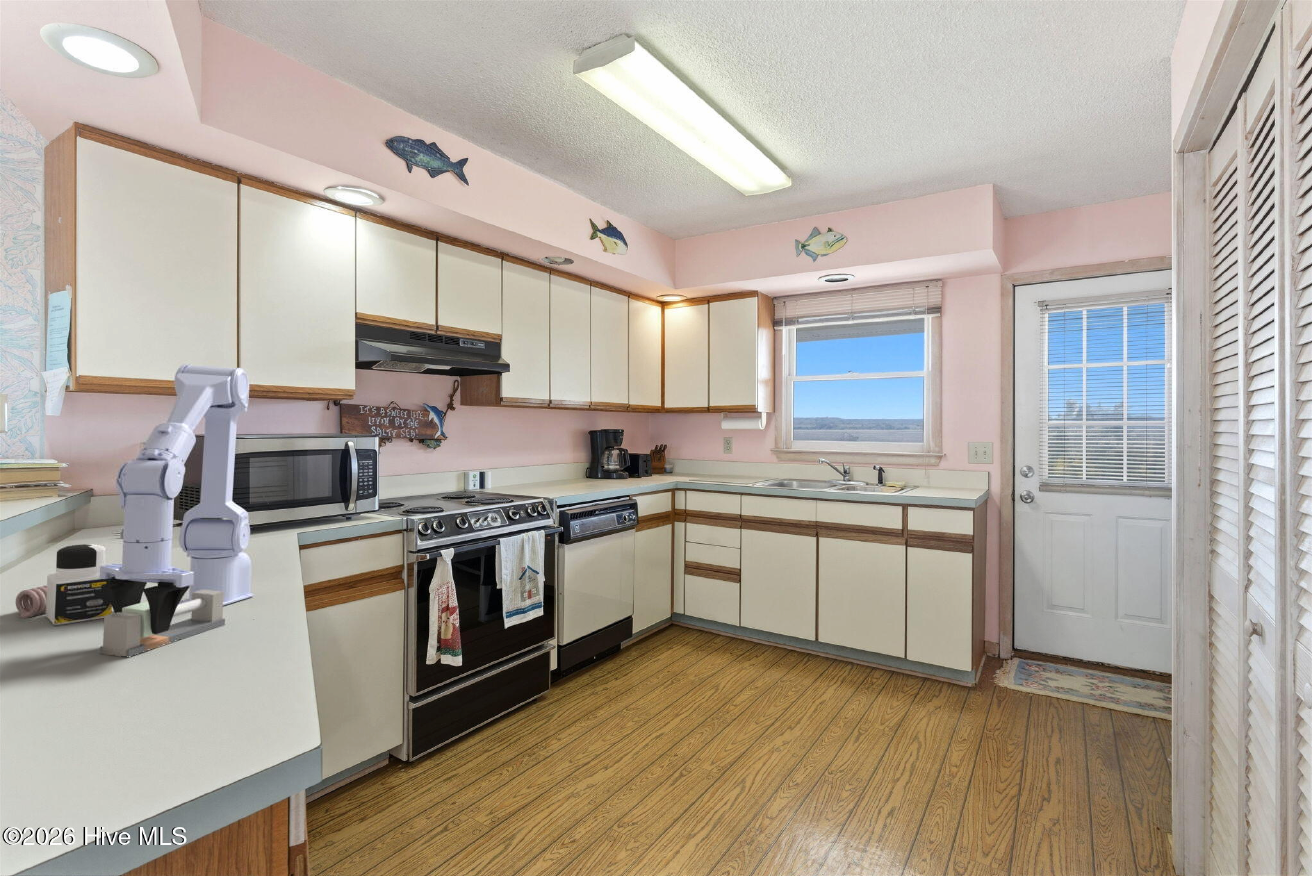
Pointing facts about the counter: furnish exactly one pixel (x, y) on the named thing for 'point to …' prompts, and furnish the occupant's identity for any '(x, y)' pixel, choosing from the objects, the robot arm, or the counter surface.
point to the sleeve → (145, 617)
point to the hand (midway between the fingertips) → (144, 630)
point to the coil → (32, 602)
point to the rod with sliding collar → (127, 630)
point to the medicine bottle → (77, 586)
